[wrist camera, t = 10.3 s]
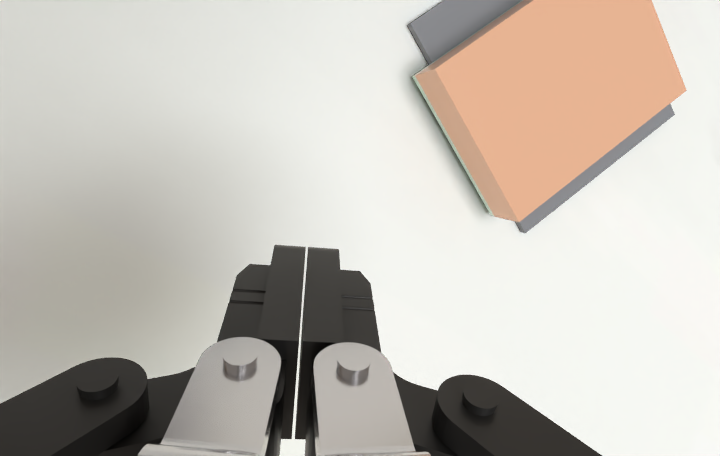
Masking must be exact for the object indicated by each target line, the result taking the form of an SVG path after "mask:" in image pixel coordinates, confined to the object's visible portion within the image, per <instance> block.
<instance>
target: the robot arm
mask: <svg viewBox="0 0 720 456" xmlns="http://www.w3.org/2000/svg"><path fill="white" fill-rule="evenodd" d="M304 261H305V247H298V246H284V245H275V246H274V251H273V256H272V261H271V265H256V264H249V265H248V266H247V267H246V268H245V269H244V270H243V271H241V272H240V273H239V274H238V275H237V277H236V280H235V284H234V287H233V292H232V294H231V297H230V302H229V304H228V307H227V310H226V314H225V317H224V320H223V324H222V327H221V330H220V334H219V337H218V340H217V343H215V344H213V345H211V346H210V347H209V348H207V349H206V350H205V351H204V352H203V353H202V355H201V357H200V358H199V361H198V363H197V365H196V367H194V368H192V369H190V370H187V371H184V372H181V373H178V374H174V375H169V376H163V377H158V378H152V379H147V376H146V372H145V371H144V369H143V368H142V367H141V366H140V365H139V364H137V363H135V362H133V361H130V360H127V359H123V358H101V359H95V360H91V361H87V362H84V363H81V364H79V365H77V366H75V367H73V368H71V369H69V370H67V371H65V372H63V373H61V374H59V375H57V376H55V377H53V378H51V379H49V380H47V381H45V382H43V383H41V384H39V385H37V386H35V387H33V388H31V389H29V390H27V391H25V392H23V393H21V394H19V395H17V396H15V397H13V398H11V399H9V400H7V401H5V402H3V403H1V404H0V456H279V453H280V443H281V439H291V438H292V424H293V411H294V398H295V385H296V371H297V358H298V345H299V331H300V317H301V303H302V289H303V275H304ZM295 439H306V444H305V456H602V455H600V454H599V453H597V452H596V451H594V450H593V449H592V448H590V447H589V446H587V445H586V444H584V443H583V442H581V441H580V440H579V439H577V438H576V437H574V436H573V435H571V434H570V433H569V432H567V431H566V430H564V429H563V428H561V427H560V426H558V425H557V424H556V423H554V422H553V421H551V420H550V419H548V418H547V417H545V416H544V415H543V414H541V413H540V412H538V411H537V410H535V409H534V408H532V407H531V406H530V405H528V404H527V403H525V402H524V401H522V400H521V399H519V398H518V397H517V396H515V395H514V394H512V393H511V392H509V391H508V390H507V389H505V388H504V387H502V386H501V385H499V384H497V383H495V382H493V381H491V380H489V379H486V378H483V377H479V376H475V375H458V376H454V377H451V378H449V379H447V380H445V381H444V382H443V383H442V384H441V385H440V387H439V389H438V391H437V390H433V389H430V388H426V387H423V386H419V385H416V384H413V383H410V382H408V381H406V380H404V379H402V378H401V377H399V376H397V375H396V374H395V373H394V372H393V371H392V367H391V365H390V362H389V361H388V359H387V358H386V357H385V356H384V355H383V354H382V353H381V349H380V342H379V336H378V329H377V323H376V317H375V311H374V304H373V300H372V291H371V284H370V283H369V281H368V280H367V279H366V278H365V277H364V276H363V274H362V273H361V272H360V271H349V270H340V260H339V249H328V248H314V247H308V257H307V270H306V282H305V295H304V308H303V322H302V337H301V352H300V368H299V383H298V399H297V414H296V430H295Z"/></svg>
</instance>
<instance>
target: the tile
mask: <svg viewBox="0 0 720 456" xmlns="http://www.w3.org/2000/svg"><path fill="white" fill-rule="evenodd" d="M412 77H413V79H414V81H415V82H416V84H417V86H418V88H419V89H420V91H421V93H422V95H423V96H424V98H425V100H426V102H427V104H428V105H429V107H430V109H431V111H432V112H433V114H434V116H435V118H436V119H437V121H438V123H439V125H440V127H441V128H442V130H443V132H444V134H445V135H446V137H447V139H448V141H449V142H450V144H451V146H452V148H453V149H454V151H455V153H456V155H457V157H458V158H459V160H460V162H461V164H462V165H463V167H464V169H465V171H466V172H467V174H468V176H469V178H470V179H471V181H472V183H473V185H474V187H475V188H476V190H477V192H478V194H479V195H480V197H481V199H482V201H483V202H484V204H485V206H486V208H487V210H488V211H489V213H490V215H491V216H494V217H499V218H503V219H507V220H511V221H516V222H520V221H521V220H523V219H524V218H525V217H526V216H528V215H529V214H530V213H531V212H533V211H534V210H535V209H537V208H538V207H539V206H540V205H542V204H543V203H544V202H545V201H547V200H548V199H549V198H551V197H552V196H553V195H554V194H556V193H557V192H558V191H559V190H561V189H562V188H563V187H565V186H566V185H567V184H568V183H570V182H571V181H572V180H573V179H575V178H576V177H577V176H578V175H580V174H581V173H582V172H584V171H585V170H586V169H587V168H589V167H590V166H591V165H592V164H594V163H595V162H596V161H598V160H599V159H600V158H601V157H603V156H604V155H605V154H606V153H608V152H609V151H610V150H612V149H613V148H614V147H615V146H617V145H618V144H619V143H620V142H622V141H623V140H624V139H625V138H627V137H628V136H629V135H631V134H632V133H633V132H634V131H636V130H637V129H638V128H639V127H641V126H642V125H643V124H645V123H646V122H647V121H648V120H650V119H651V118H652V117H653V116H655V115H656V114H657V113H658V112H660V111H661V110H662V109H664V108H665V107H666V106H667V105H669V104H670V103H671V102H672V101H674V100H675V99H676V98H678V97H679V96H680V95H681V94H683V93H684V92H685V91H686V88H685V85H684V83H683V80H682V77H681V75H680V72H679V70H678V67H677V65H676V62H675V60H674V57H673V54H672V52H671V49H670V47H669V44H668V42H667V39H666V36H665V34H664V31H663V29H662V26H661V24H660V21H659V18H658V16H657V13H656V11H655V8H654V6H653V3H652V0H521V1H520V2H518V3H517V4H516V5H514V6H513V7H511V8H510V9H508V10H507V11H506V12H504V13H503V14H501V15H500V16H498V17H497V18H495V19H494V20H493V21H491V22H490V23H488V24H487V25H485V26H484V27H483V28H481V29H480V30H478V31H477V32H475V33H474V34H472V35H471V36H470V37H468V38H467V39H465V40H464V41H462V42H461V43H460V44H458V45H457V46H455V47H454V48H452V49H451V50H449V51H448V52H447V53H445V54H444V55H442V56H441V57H439V58H438V59H437V60H435V61H434V62H432V63H431V64H429V65H428V66H426V67H425V68H424V69H422V70H421V71H419V72H418V73H416V74H415V75H414V76H412Z"/></svg>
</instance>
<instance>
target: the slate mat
mask: <svg viewBox="0 0 720 456" xmlns="http://www.w3.org/2000/svg"><path fill="white" fill-rule="evenodd" d="M520 1H521V0H444V1H442V2H441V3H439V4H438V5H436V6H435V7H433V8H432V9H431V10H429V11H428V12H426V13H425V14H423V15H422V16H420V17H419V18H417V19H416V20H414V21H413V22H411V23H410V24H408V25H407V26H408V28H409V30H410V31H411V33H412V35H413V37H414V39H415V41H416V42H417V44H418V46H419V48H420V50H421V51H422V53H423V55H424V57H425V59H426V61H427V62H428V64H431V63H432V62H434V61H435V60H437V59H438V58H439V57H441V56H442V55H444V54H445V53H447V52H448V51H449V50H451V49H452V48H454V47H455V46H457V45H458V44H460V43H461V42H462V41H464V40H465V39H467V38H468V37H470V36H471V35H472V34H474V33H475V32H477V31H478V30H480V29H481V28H483V27H484V26H485V25H487V24H488V23H490V22H491V21H493V20H494V19H495V18H497V17H498V16H500V15H501V14H503V13H504V12H506V11H507V10H508V9H510V8H511V7H513V6H514V5H516V4H517V3H518V2H520ZM674 115H675V114H674V112H673V109H672V107H671V104H669V105H667V106H666V107H665V108H664V109H662V110H661V111H660V112H658V113H657V114H656V115H655V116H653V117H652V118H651V119H650V120H648V121H647V122H646V123H645V124H643V125H642V126H641V127H639V128H638V129H637V130H636V131H634V132H633V133H632V134H631V135H629V136H628V137H627V138H625V139H624V140H623V141H622V142H620V143H619V144H618V145H617V146H615V147H614V148H613V149H612V150H610V151H609V152H608V153H606V154H605V155H604V156H603V157H601V158H600V159H599V160H598V161H596V162H595V163H594V164H592V165H591V166H590V167H589V168H587V169H586V170H585V171H584V172H582V173H581V174H580V175H578V176H577V177H576V178H575V179H573V180H572V181H571V182H570V183H568V184H567V185H566V186H565V187H563V188H562V189H561V190H559V191H558V192H557V193H556V194H554V195H553V196H552V197H551V198H549V199H548V200H547V201H545V202H544V203H543V204H542V205H540V206H539V207H538V208H537V209H535V210H534V211H533V212H531V213H530V214H529V215H528V216H526V217H525V218H524V219H523V220H521V221H520V222H516V221H515V222H516V224H517V226H518V227H519V229H520V231H521V232H523V233H526V232H527V231H529V230H530V229H531V228H533V227H534V226H535V225H536V224H538V223H539V222H540V221H541V220H543V219H544V218H545V217H546V216H548V215H549V214H550V213H551V212H553V211H554V210H555V209H556V208H558V207H559V206H560V205H561V204H563V203H564V202H565V201H567V200H568V199H569V198H570V197H572V196H573V195H574V194H575V193H577V192H578V191H579V190H580V189H582V188H583V187H584V186H585V185H587V184H588V183H589V182H590V181H592V180H593V179H594V178H595V177H597V176H598V175H599V174H601V173H602V172H603V171H604V170H606V169H607V168H608V167H609V166H611V165H612V164H613V163H614V162H616V161H617V160H618V159H619V158H621V157H622V156H623V155H624V154H626V153H627V152H628V151H629V150H631V149H632V148H633V147H635V146H636V145H637V144H638V143H640V142H641V141H642V140H643V139H645V138H646V137H647V136H648V135H650V134H651V133H652V132H653V131H655V130H656V129H657V128H658V127H660V126H661V125H662V124H663V123H665V122H666V121H667V120H668V119H670V118H671V117H672V116H674Z"/></svg>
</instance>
